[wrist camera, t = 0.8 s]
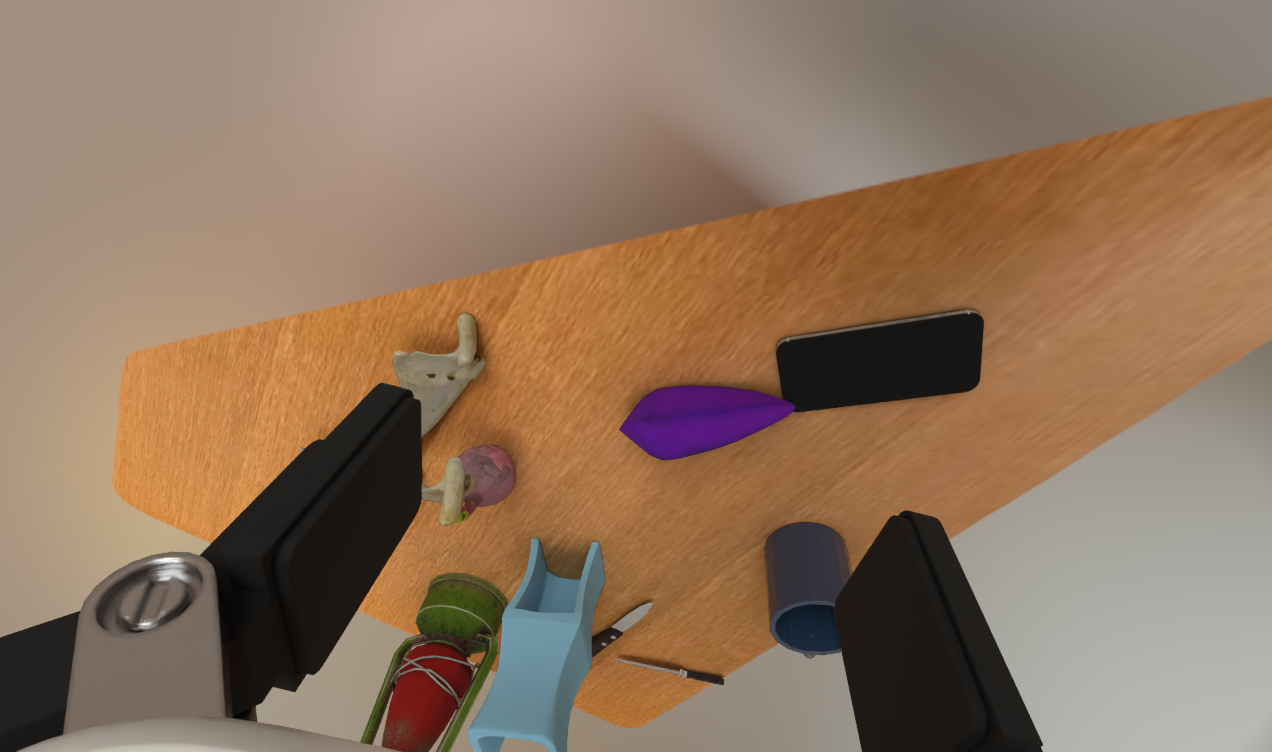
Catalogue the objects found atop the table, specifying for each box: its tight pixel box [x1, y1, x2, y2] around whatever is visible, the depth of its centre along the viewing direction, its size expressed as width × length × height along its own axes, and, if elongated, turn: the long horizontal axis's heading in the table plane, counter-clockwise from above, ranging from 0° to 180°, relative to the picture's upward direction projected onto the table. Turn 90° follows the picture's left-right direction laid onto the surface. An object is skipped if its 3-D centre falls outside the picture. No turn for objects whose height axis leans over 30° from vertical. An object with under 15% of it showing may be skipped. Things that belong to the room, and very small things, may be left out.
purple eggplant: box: [619, 386, 795, 460], centre depth 47 cm, size 5×5×15 cm
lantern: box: [360, 573, 508, 752], centre depth 59 cm, size 14×11×30 cm
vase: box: [467, 538, 605, 752], centre depth 56 cm, size 8×8×20 cm
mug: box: [764, 522, 853, 658], centre depth 55 cm, size 11×8×9 cm
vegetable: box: [455, 444, 517, 523], centre depth 51 cm, size 6×6×10 cm
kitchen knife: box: [592, 602, 653, 657], centre depth 70 cm, size 18×1×2 cm
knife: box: [616, 659, 724, 685], centre depth 73 cm, size 15×1×2 cm
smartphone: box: [776, 310, 984, 412], centre depth 44 cm, size 7×1×15 cm
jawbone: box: [300, 313, 485, 526], centre depth 50 cm, size 25×18×10 cm
